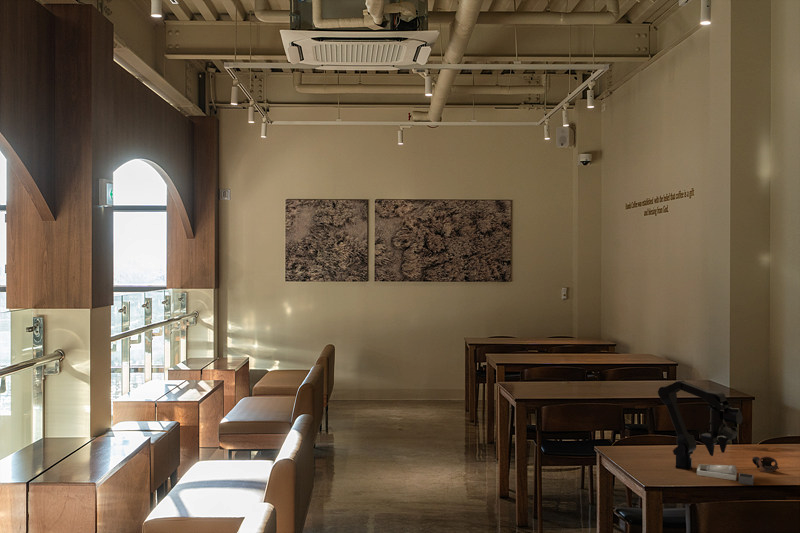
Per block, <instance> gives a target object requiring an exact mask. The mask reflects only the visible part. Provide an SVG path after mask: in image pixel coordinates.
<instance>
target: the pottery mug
mask: <svg viewBox="0 0 800 533" xmlns="http://www.w3.org/2000/svg"><path fill="white" fill-rule="evenodd" d="M751 461H752V463H753V464H754V465H755V466H756V468H757V469H760V470H759V472H760V473H774V472H776V471H777V470H779V469H780V467H779V464H778V462H777V460H776V459H775V458H774V457H771V456H765V455H764V456H761V457H758V456H753V457H752V460H751ZM773 463H775V464H774V465H772V464H773Z"/></svg>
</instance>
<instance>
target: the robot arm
mask: <svg viewBox="0 0 800 533" xmlns="http://www.w3.org/2000/svg"><path fill="white" fill-rule="evenodd" d="M681 391H683V392H685V393H688V394H690V395H693V396H695V397H698V398H700V399H702V400H704V401H705V402H706V403H707V404H708V406H705V409H706V410H710V411H709V412H710V420H709V421H708V423H707V424H708V425H710V430H708V432H705V433H701V434H700V437H699V438H700V439H699V440H700V441H701V442H702V443H703V444H704V446H705V447H706V448H705V449H707V452H708V454H709V456H711V457H713V456H714V454H715V452H714V451H715V445H716V444H719V448H720V452H721V453H723V454H724V453H725V451H726V448H727V446H728V444H729V443H728V442H729V441H732V440H735V439H736V438H737V436H739V428H738V427H736V426H733V427H729V426H728V424H727V423H729V424H736V425H741V423H742V422H743V417H744V416H743V413H742V412H741V408H735V407H732V405H731V404H730V402H729V401H728V399H727V396H726V394H725V393H724V392H721V391H716V390H710V389H709V390H708V389H705V388H703V387H700V386H698V385H695V384H692V383H690V382H687V381H685V380H684V379H683V380H682V379H681V380H676V381H675V382H674V383H671V384H669V385H666V386H661V387H659V388H658V390H657V395H658V397H659V399H660V401H661V402H662V403H663V404H664V405H665V407H666V408H667V411H668V414H669V417H670V419H671V422H672V425H673V427H674V430H675V433H676V445H677V447H675V448H673V450H672V453H673V455H674V456H675V466H674V467H676V468H675V469H680V468H682V470H688V469H690V470H691V468H692V467H693V463H692V462H693V458H692V457H691V455H693V454H694V452H695V451H696V449H697V444H698V442H697V441H696V438H695V435H694V434H690V433H689V432H688V430H687V427H686V425H685V422H684V420H683V419H684V418H683V416H682V414H681V411H680V409H679V406H678V404H677V402H678V401H677V400H678V395H677V393H679V392H681Z"/></svg>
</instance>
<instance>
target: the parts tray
mask: <svg viewBox="0 0 800 533" xmlns="http://www.w3.org/2000/svg"><path fill="white" fill-rule="evenodd" d="M707 465H708V464H703V463H698V466H697V468H696V475H697V476H701V477H707V478H708V477H709V478H715V479H723V480H730V481H737V473H736V474H726V473H715V472H708V471H707V470H706V466H707Z"/></svg>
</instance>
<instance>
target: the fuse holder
mask: <svg viewBox="0 0 800 533" xmlns="http://www.w3.org/2000/svg"><path fill="white" fill-rule="evenodd" d="M738 484H742V485H749V486H754V474H752V473H751V474H750V473H749V474H748V473H743V472H739V473H738Z"/></svg>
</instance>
